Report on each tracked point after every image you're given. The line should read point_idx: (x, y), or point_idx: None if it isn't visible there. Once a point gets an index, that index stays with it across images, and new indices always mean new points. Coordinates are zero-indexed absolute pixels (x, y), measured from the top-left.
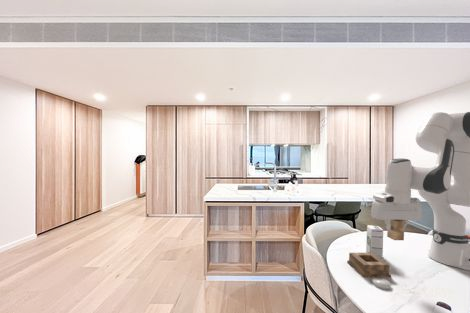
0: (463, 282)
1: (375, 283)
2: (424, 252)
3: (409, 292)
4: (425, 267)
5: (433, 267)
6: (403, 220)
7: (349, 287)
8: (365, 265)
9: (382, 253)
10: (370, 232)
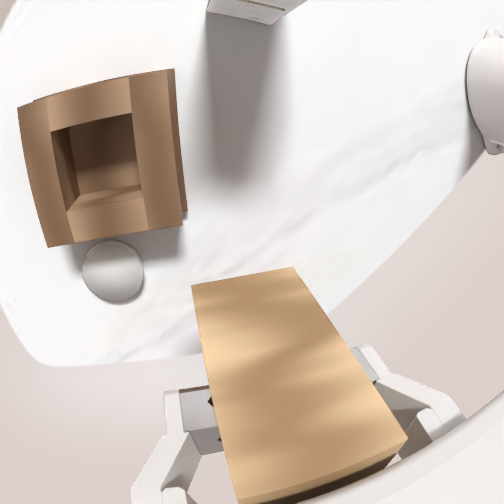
0: (425, 215)
1: (87, 284)
2: (475, 26)
3: None
4: (404, 119)
5: (428, 122)
6: (408, 447)
7: (10, 297)
8: (54, 245)
9: (278, 18)
10: None
